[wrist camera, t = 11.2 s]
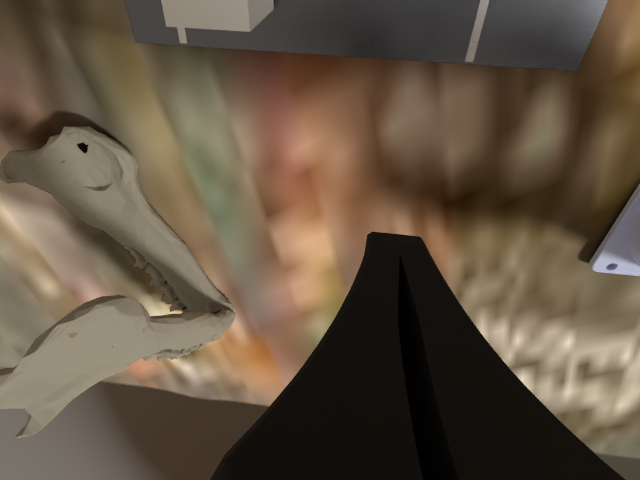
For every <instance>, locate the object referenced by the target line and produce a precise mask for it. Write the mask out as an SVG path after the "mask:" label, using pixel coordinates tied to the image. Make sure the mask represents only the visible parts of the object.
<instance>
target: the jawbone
mask: <svg viewBox="0 0 640 480" xmlns="http://www.w3.org/2000/svg"><path fill="white" fill-rule="evenodd" d="M82 142H83V143H85V144H86V145H88V152H87V153H83V152H82V151H81V150H80V149H79V148H78V146H77V145H76V144H79V143H82ZM137 169H138V164H137V162H136V160H135V158H134V156H133V155H132V153H131V152H130V151H129V150H128V149H126V148H125V147H124V146H122V145H121V144H120V143H118V142H117V141H115V140H113V139H111V138H109V137H108V136H106V135H105V134H103V133H100V132H97V131H96V130H94V129H93V128H91V127H90V126H87V127H68V126H64V128H63V130H62V132H61V134H59V135H55V136H51V137H50V138H49V140H48V142H47V144H46V145H44V146H43V147H42V148H40V149H37V150H29V151H19V150H16V151H11V152H9V153H8V154H7V155H6V157H5V158H4V159H3V160H2V162H1V165H0V179H1V180H3V181H5V182H7V183H16V182H26V183H28V184H30V185H33V186H35V187H38V188H40V189H42V190H44V191H46V192H48V193H50V194H52V195H53V197H54V198H55V199H56V200H57V201H59V202H60V203H61V204H62V205H63V206H64V207H65V208H67V209H68V210H69V211H70V212H72V213H73V214H74V215H75V216H76V217H78V218H79V219H81V220H82V221H84V222H85V223H87V224H88V225H90V226H92V227H95V228H98V229H100V230H103V231H104V232H106V233H107V234H108V235H109V236H111V237H112V238H113V239H114V240H116V241H117V242H119V243H120V244H121V245H123V246H124V248H125V249H127V250H130V254H131V255H133V256H134V258H135V260H136V262H135V264H134V266H133V267H139V269H142V268H145V267H146V271H145V273H148V274H150V275H151V277H152V280H151V281H150V283H149V285H150V286H155V288H158V287H159V289H158V290H159V291H161V292H164V293H163V296H162V298H161V301H167V304H170V303H173V305H172V306H171V307H170V312H171V311H174V310H181V311H183V313H182V314H169V315H163V316H151V317H150V316H149V314H148V312H147V311H146V309H145V308H144V306H143V305H142V304H141V303H140V302H139V301H138V300H136V299H132V298H129V297H126V296H122V295H115V296H102V297H99V298H96V299H94V300H91V301H89V302H86V303H84V304H82V305H81V306H79V307H78V308H76V309H75V310H73V311H72V312H70V313H69V314H68V315H66V316H65V317H64V318H62V319H61V320H60V321H58V322H57V323H56V324H54V325H53V326H52V327H51V328H49V329H48V330H47V331H45V332H44V333H43V334H42V335H40V336H39V337H38V338H36V340H35V341H34V342H33V344H32V345H31V347H30V348H29V350H28V351H27V353H26V354H25V356H24V357H23V359H22V360H21V361H20V363H19V364H18V365H17V366H15V367H14V368H4V369H1V370H0V409H20V408H21V409H22V408H23V409H24V410H25V411H26V412H28V413H29V416H28V419H27V421H26V423H25V425H24V427H23V428H22V429H21V431H20V432H19V433H18V434H17V435H16V437H15V438H18V437H25V436H33V435H34V434H36V433H37V432H38V431H40V430H41V429H42V428H43V427H45V426H46V425H47V424H48V423H49V422H50V421H51V420H52V419H53V418H54V417H55V416H56V415H57V414H58V413H59V412H60V411H61V410H62V409H63V408H64V407H65V406H66V405H67V404H68V403H69V402H70V401H71V400H72V399H74V398H75V397H77V396H78V395H79V394H81V393H82V392H84V391H85V390H86V389H88V388H89V387H91V386H92V385H94V384H96V383H97V382H99V381H101V380H102V379H104V378H107V377H109V376H112V375H114V374H117V373H119V372H120V371H122V370H123V369H125V368H126V367H128V366H129V365H131V364H133V363H135V362H136V361H138V360H140V359H141V358H143V359H144V360H146V361H147V360H150V359H152V358H155V357H157V360H159V361H160V360H164V359H167V358H170V359H171V360H172V359H177V358H179V357H181V356H183V355H188V354H189V353H190V352H191V351H193V350H196V349H197V351H198V350H200V349H202V348H204V347H205V344H206V343H210V342H212V341H215V340H218V339H219V338H220V337H221V335H222V334H223V333H224V332H226V331H227V330H228V329H229V327H230V326H231V324H232V323H233V321H234V318H235V315H236V314H235V313H234V312H233V305H232V304H231V303H230V302H229V301H228V300H227V299H226V298H225V297H224V296H223V295H222V294H221V293H220V292H219V291H218V290H217V289H216V287H215V286H214V285H213V284H212V282H211V281H210V280H209V278H208V277H207V275H206V274H205V272H204V271H203V269H202V267H201V266H200V264H199V262H198V261H197V259H196V258H195V256H194V255H193V254H192V252H191V251H190V249H189V248H188V247H187V246H186V245H185V244H184V243H183V241H182V240H181V239H180V238H179V237H178V236H177V234H176V233H175V232H174V231H173V230H172V229H171V228H170V227H169V226H168V225H167V224H166V223H165V221H164V220H163V219H162V218H161V217H160V216H159V215H158V214H157V213H156V212H155V211H154V210H153V209H152V207H151V206H150V205H149V204H148V203H147V201H146V199H145V197H144V195H143V193H142V191H141V189H140V186H139V183H138V180H137ZM73 332H77V336H75V337H74V338H69V334H68V333H73Z"/></svg>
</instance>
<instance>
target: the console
mask: <svg viewBox="0 0 640 480" xmlns="http://www.w3.org/2000/svg"><path fill="white" fill-rule="evenodd" d="M125 2H126V6H127V10H128V14H129V18H130V22H131V26H132V30H133V34H134V38H135V43H149V44H165V45H180V46H196V47H211V48H226V49H242V50H257V51H273V52H288V53H304V54H319V55H334V56H350V57H365V58H381V59H396V60H411V61H427V62H442V63H458V64H473V65H488V66H504V67H519V68H535V69H550V70H566V71H578V69H579V67H580V64H581V62H582V60H583V57H584V55H585V53H586V51H587V48H588V46H589V44H590V41H591V39H592V37H593V34H594V32H595V30H596V27H597V25H598V23H599V20H600V18H601V16H602V13H603V11H604V9H605V7H606V4H607V2H608V0H273V5H274V10H273V11H271V12H270V13H269V14H268V15H267V16H266V17H265V18H264V19H263V20H262V21H261V22H260V23H259V24H258V25H257V26H256V27H255V28H253V29H252V30H251V31H250V32H245V31H229V30H213V29H197V28H180V27H166V23H165V18H164V13H163V7H162V2H161V0H125Z"/></svg>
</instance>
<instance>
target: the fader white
mask: <svg viewBox="0 0 640 480" xmlns="http://www.w3.org/2000/svg"><path fill="white" fill-rule="evenodd" d="M161 2H162V7H163V13H164V18H165V23H166V27H180V28H197V29H213V30H229V31H245V32H250V31H251V30H252V29H253V28H255V27H256V26H257V25H258V24H259V23H260V22H261V21H262V20H263V19H264V18H265V17H266V16H267V15H268V14H269V13H270V12H271V11H273V10H274V5H273V0H161Z"/></svg>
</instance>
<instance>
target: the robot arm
mask: <svg viewBox="0 0 640 480" xmlns="http://www.w3.org/2000/svg"><path fill="white" fill-rule="evenodd" d="M612 263H613V264H612ZM589 264H590V267H591V268H592V270H594V271H596V272H603V273H614V274H624V275H635V276H640V184H639V185H638V187H637V188H636V190H635V191H634V193H633V195H632V196H631V198H630V199H629V201H628V202H627V204H626V206H625V207H624V209H623V210H622V212H621V213H620V215H619V216H618V218H617V220H616V221H615V223H614V224H613V226H612V227H611V229H610V231H609V232H608V234H607V235H606V237H605V238H604V240H603V241H602V243H601V245H600V246H599V248H598V249H597V251H596V252H595V254H594V256H593V257H592V259H591V260H590V263H589ZM609 264H611V265H609ZM210 480H625V479H624V478H622V477H621V476H620V475H619V474H618V473H617V472H615V471H614V470H613V469H612V468H611V467H609V466H608V465H607V464H606V463H605V462H604V461H602V460H601V459H600V458H599V457H598V456H597V455H596V454H595V453H594V452H593V451H592V450H590V449H589V448H588V447H587V446H586V445H585V444H584V443H583V442H582V441H581V440H579V439H578V438H577V437H576V436H575V435H574V434H573V433H572V432H571V431H570V430H569V429H568V428H566V427H565V426H564V425H563V424H562V423H561V422H560V421H559V420H558V419H557V418H556V417H555V416H554V415H553V414H552V413H551V412H550V411H549V410H548V409H547V408H546V407H545V406H544V405H543V404H542V403H541V402H540V401H539V400H538V399H537V398H536V397H535V395H534V394H533V393H532V392H531V391H530V390H529V389H528V388H527V387H526V386H525V385H524V384H523V383H522V382H521V381H520V380H519V379H518V378H517V376H516V375H515V374H514V373H513V372H512V371H511V370H510V369H509V367H508V366H507V365H506V364H505V363H504V362H503V360H502V359H501V358H500V357H499V356H498V354H497V353H496V352H495V351H494V350H493V348H492V347H491V346H490V345H489V343H488V342H487V341H486V339H485V338H484V337H483V335H482V334H481V333H480V332H479V330H478V329H477V327H476V326H475V325H474V323H473V322H472V321H471V319H470V318H469V316H468V315H467V314H466V312H465V311H464V309H463V308H462V306H461V305H460V303H459V302H458V300H457V299H456V297H455V295H454V294H453V292H452V291H451V289H450V288H449V286H448V284H447V283H446V281H445V280H444V278H443V276H442V274H441V273H440V271H439V269H438V268H437V266H436V264H435V262H434V260H433V259H432V257H431V255H430V253H429V251H428V249H427V247H426V245H425V243H424V241H423V240H422V239H421V237H418V236H408V235H399V234H389V233H380V232H371V233H370V234H368V235H367V241H366V247H365V254H364V257H363V260H362V263H361V266H360V268H359V271H358V273H357V275H356V278H355V280H354V282H353V285H352V287H351V289H350V291H349V293H348V295H347V297H346V299H345V301H344V302H343V304H342V306H341V308H340V310H339V312H338V314H337V315H336V317H335V319H334V320H333V322H332V324H331V325H330V327H329V329H328V330H327V332H326V333H325V335H324V336H323V338H322V339H321V341H320V342H319V344H318V345H317V347H316V348H315V350H314V351H313V352H312V354H311V355H310V357H309V358H308V359H307V361H306V362H305V364H304V365H303V366H302V368H301V369H300V370H299V372H298V373H297V374H296V375H295V377H294V378H293V379H292V380H291V382H290V383H289V384H288V385H287V386H286V388H285V389H284V390H283V391H282V392H281V394H280V395H279V396H278V397H277V398H276V400H275V401H274V402H273V403H272V404H271V406H270V407H269V408H268V409H267V410H266V411H265V413H264V414H263V415H262V416H261V417H260V418H259V419H258V420H257V421H256V422H255V424H253V426H251V428H250V429H249V430H248V431H247V432H246V433H245V434H244V435H243V436H242V437H241V438H240V439H239V440H238V441H237V442H236V443H235V444H234V445H233V446H232V448H231V449H230V450H229V451H228V452H227V453H226V454H225V455H224V457H223V459H222V461H221V462H220V464H219V466H218V467H217V469H216V471H215V472H214V474H213V476H212V477H211V479H210Z"/></svg>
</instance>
